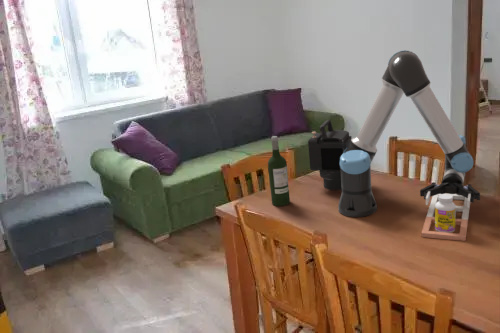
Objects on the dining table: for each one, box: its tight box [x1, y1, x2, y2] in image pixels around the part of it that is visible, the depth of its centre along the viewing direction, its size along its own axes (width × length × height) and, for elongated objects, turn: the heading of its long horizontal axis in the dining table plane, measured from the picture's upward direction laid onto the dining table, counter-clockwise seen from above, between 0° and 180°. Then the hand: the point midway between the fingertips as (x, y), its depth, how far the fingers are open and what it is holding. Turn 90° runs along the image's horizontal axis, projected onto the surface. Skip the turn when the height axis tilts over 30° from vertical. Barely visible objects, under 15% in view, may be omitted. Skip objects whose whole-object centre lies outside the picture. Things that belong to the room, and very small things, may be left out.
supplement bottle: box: [434, 193, 457, 233], centre depth 169 cm, size 7×7×13 cm
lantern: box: [307, 119, 353, 191], centre depth 222 cm, size 15×18×30 cm
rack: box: [421, 194, 471, 242], centre depth 181 cm, size 38×14×2 cm, turn 154°
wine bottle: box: [267, 135, 291, 207], centre depth 208 cm, size 8×8×30 cm
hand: (447, 202), depth 171 cm, fingers open, 13 cm apart
